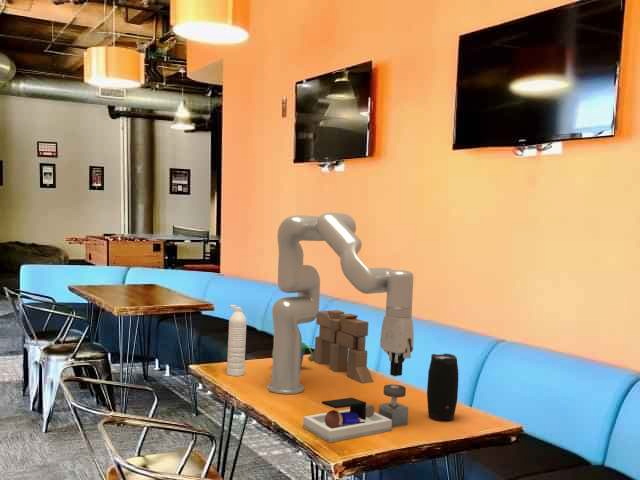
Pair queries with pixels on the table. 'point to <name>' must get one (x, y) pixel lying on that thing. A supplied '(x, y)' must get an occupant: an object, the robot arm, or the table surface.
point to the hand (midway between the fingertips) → (396, 375)
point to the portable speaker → (442, 387)
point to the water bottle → (236, 343)
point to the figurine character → (354, 416)
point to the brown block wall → (342, 344)
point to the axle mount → (394, 413)
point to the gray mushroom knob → (394, 393)
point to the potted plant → (302, 352)
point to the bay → (346, 427)
